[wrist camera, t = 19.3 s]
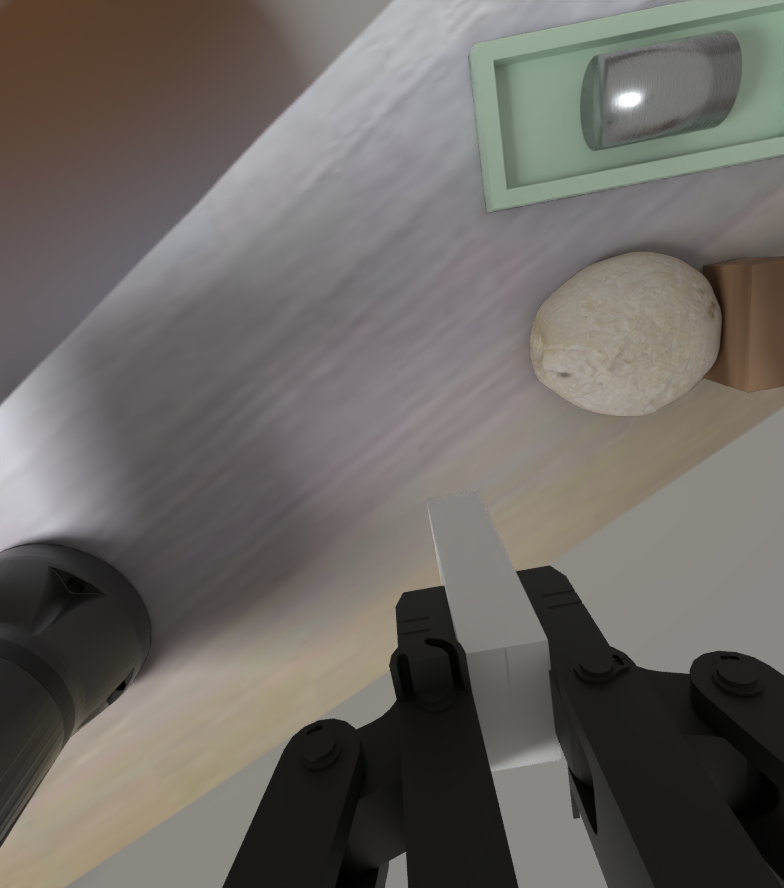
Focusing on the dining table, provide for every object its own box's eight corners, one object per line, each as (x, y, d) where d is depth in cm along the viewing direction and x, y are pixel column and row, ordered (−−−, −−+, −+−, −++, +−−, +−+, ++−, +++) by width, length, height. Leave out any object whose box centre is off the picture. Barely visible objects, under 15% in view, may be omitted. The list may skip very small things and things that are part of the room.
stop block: (703, 378, 40) (748, 392, 35) (703, 265, 37) (752, 265, 32) (744, 370, 39) (794, 384, 35) (747, 257, 37) (801, 255, 32)
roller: (577, 75, 33) (609, 38, 28) (690, 53, 33) (741, 12, 28) (584, 160, 34) (616, 137, 30) (693, 139, 34) (742, 113, 29)
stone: (664, 300, 42) (733, 233, 35) (699, 418, 40) (782, 372, 32) (507, 311, 41) (543, 243, 33) (531, 433, 38) (576, 389, 31)
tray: (486, 213, 36) (492, 209, 34) (468, 56, 33) (474, 43, 31) (787, 155, 35) (811, 148, 33) (794, -9, 32) (821, -26, 30)
